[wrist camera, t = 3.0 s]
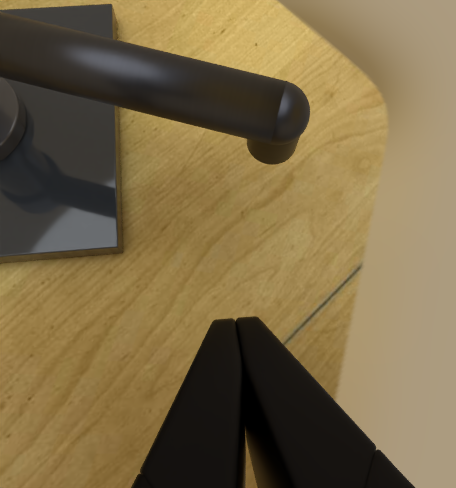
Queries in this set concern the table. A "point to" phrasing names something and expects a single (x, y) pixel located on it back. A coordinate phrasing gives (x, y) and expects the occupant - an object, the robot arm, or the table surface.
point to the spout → (156, 84)
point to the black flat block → (59, 159)
